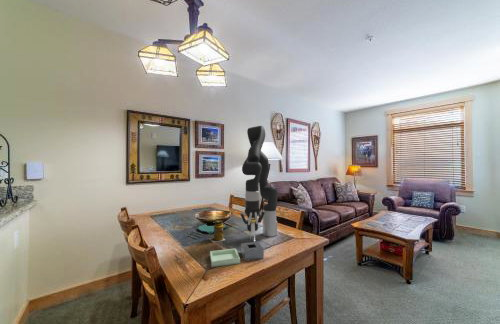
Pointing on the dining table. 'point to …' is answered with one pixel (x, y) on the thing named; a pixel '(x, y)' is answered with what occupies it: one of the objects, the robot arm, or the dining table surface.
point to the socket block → (252, 251)
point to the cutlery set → (203, 230)
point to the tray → (224, 257)
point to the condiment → (218, 231)
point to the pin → (252, 230)
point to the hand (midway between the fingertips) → (252, 230)
